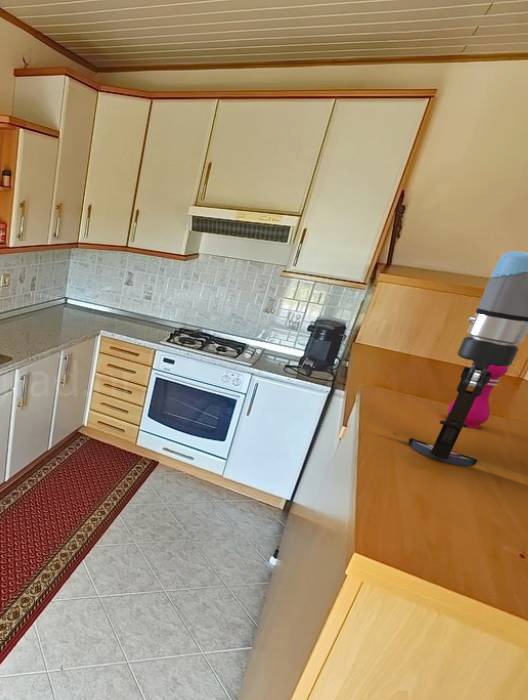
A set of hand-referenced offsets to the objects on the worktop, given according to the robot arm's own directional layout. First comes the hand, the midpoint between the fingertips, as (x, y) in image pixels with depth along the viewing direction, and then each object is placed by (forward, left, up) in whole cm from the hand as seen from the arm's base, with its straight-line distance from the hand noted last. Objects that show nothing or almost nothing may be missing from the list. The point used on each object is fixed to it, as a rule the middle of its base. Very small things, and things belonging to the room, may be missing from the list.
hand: (439, 455), depth 96 cm
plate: (0, -6, -1) cm, 6 cm away
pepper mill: (-2, -29, -1) cm, 29 cm away
